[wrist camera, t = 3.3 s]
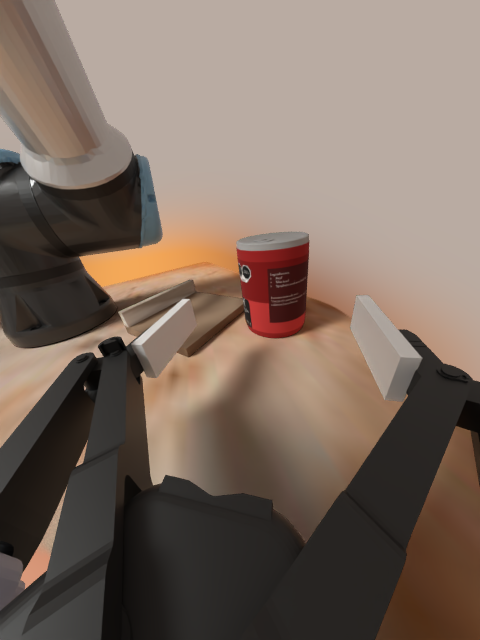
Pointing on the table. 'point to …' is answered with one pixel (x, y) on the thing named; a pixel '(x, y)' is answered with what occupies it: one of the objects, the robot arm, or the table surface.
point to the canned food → (274, 282)
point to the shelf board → (206, 308)
